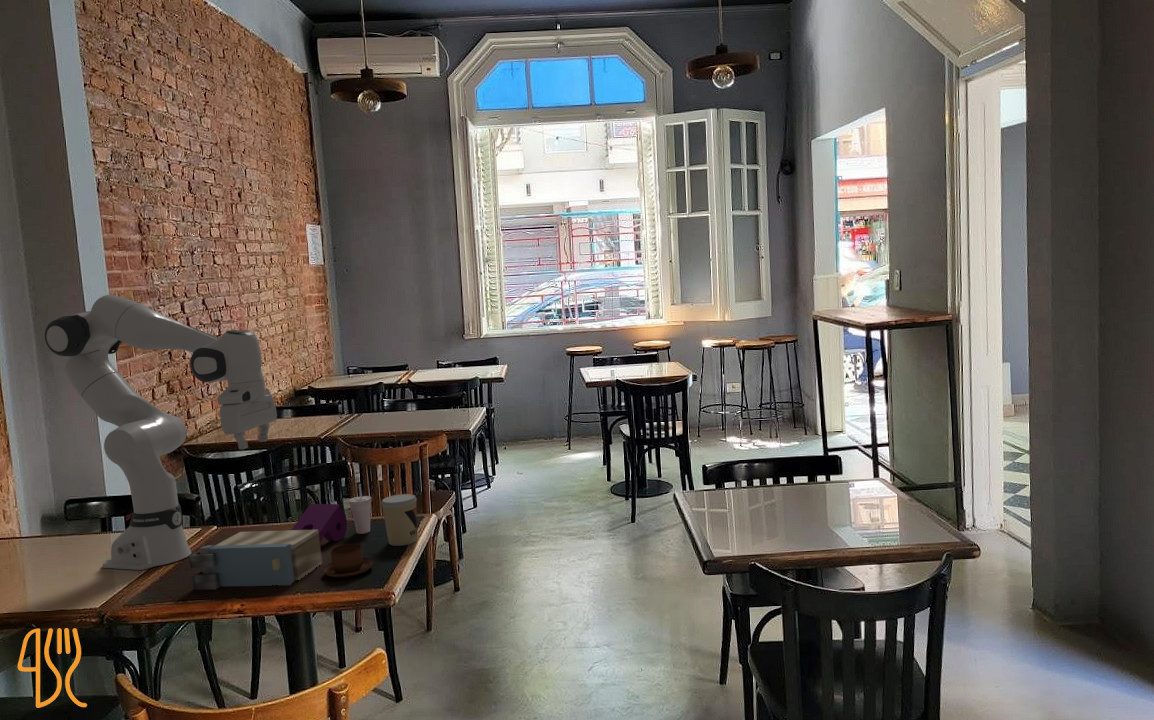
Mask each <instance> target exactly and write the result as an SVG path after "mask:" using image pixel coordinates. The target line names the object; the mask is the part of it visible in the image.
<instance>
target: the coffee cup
mask: <svg viewBox="0 0 1154 720" xmlns="http://www.w3.org/2000/svg"><path fill="white" fill-rule="evenodd" d="M417 500H418V498H417V497H416V495H414V494H411V493H402V494H394V495H390V496H386V497H385V498H383V499H382V500H381V506H382V507H381V508H382V512H383V518H384V523H385V529H386V530H385V531H386V535H387V540H388V544H389V545H391V546H400V547H401V546H407V545H410V544H414V543H417V541H418V515H417V514H418V513H417V512H418V511H417V509H418V508H417Z"/></svg>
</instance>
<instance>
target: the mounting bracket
mask: <svg viewBox="0 0 1154 720" xmlns="http://www.w3.org/2000/svg"><path fill="white" fill-rule="evenodd" d="M344 513H345V512H344V511H343V509H342V506H341V505H340V504H339V503H310V504H309V505H308V507H307V508H306V509H305V511H304V512H303V513H302V514H301V516H300V517H299V518H298V520H297V521H296V522H295V524H294V525H293V527H292V528H291V530H318V532H319V541H320V542H322V540H323V539H324V538H325V540H326V541H328V542H339V541H340V539H341V540H343V539H344V537H345V536H346V533H347V529H348V523H347V522H348V521H347V517H346V515H345V514H344ZM342 538H343V539H342ZM338 540H339V541H338Z"/></svg>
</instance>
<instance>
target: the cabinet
mask: <svg viewBox="0 0 1154 720" xmlns="http://www.w3.org/2000/svg"><path fill="white" fill-rule="evenodd" d="M261 544H290V546H291V554H292V562H293V571H294V579H295V580H299V581H300V580H302V579H303V578H304V577H306V576H308V573H309V574H310V573H311V572H312V571H314V570H315V568H316V567H317V568H319V567H320V566H321V565H323V559H322V551H321V550H322V549H321V541H319V532H318V530H292V529H291V530H290V529H289V530H261V531H260V530H258V531H257V530H254V531H239V532H238V533H236V534H234V535H231V536H230V537H228V538H226V539H224V540H222V541H221V542H219V543H217V544H215V545H214V546H224V545H261ZM188 558H189V565H190V568H195V569H197V568H198V569H199V568H201V570H200V571H197V572H196V573H194V574H193V575H191V582H192V588H193V590H194V591H197V590H198V591H201V590H202V591H203V590H204V591H205V590H217V589H219V588H220V587H221V586H220V585H219V577H218V573H214V574H203V573H202V567H214V566H216V565H217V561H216V554H215V553H212V554H200V550H197V551H195V552H193V553H191V554H190V555H189V556H188ZM319 565H320V566H319ZM317 568H316V569H317ZM305 575H306V576H305ZM301 578H302V579H301Z"/></svg>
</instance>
